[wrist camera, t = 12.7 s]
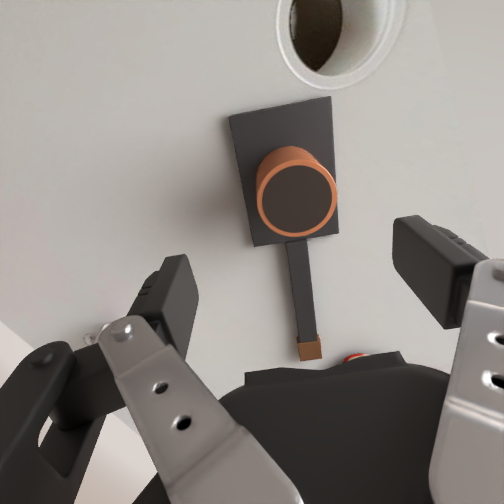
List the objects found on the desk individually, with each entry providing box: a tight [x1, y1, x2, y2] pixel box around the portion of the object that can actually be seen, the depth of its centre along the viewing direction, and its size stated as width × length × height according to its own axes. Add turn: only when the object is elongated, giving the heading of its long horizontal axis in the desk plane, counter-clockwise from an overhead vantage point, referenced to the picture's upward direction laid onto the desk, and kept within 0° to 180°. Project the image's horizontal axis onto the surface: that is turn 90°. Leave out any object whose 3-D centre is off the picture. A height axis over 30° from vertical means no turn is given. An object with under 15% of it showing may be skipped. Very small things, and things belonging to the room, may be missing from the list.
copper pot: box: [256, 146, 337, 237], centre depth 27 cm, size 6×6×7 cm
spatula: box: [229, 96, 339, 361], centre depth 34 cm, size 30×9×1 cm, turn 10°
